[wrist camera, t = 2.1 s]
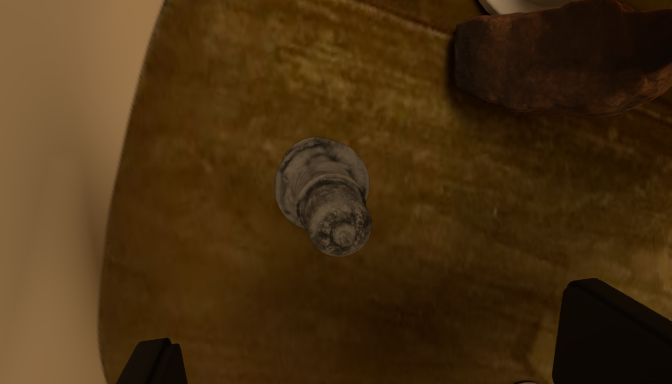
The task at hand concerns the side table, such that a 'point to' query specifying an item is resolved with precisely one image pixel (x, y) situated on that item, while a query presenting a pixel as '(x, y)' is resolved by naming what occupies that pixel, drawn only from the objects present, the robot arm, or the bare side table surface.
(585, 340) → the robot arm
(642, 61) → the decorative rock
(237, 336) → the side table surface
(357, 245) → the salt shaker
